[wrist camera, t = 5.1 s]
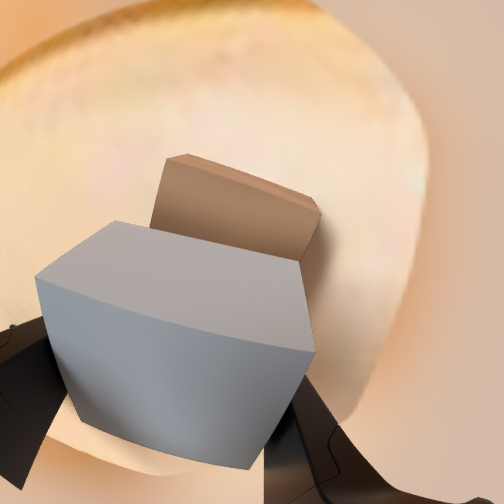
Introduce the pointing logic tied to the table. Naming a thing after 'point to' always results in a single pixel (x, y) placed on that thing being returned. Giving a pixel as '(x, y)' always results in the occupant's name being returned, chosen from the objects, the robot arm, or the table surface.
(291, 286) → the grey block
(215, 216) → the walnut base
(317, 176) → the table surface
